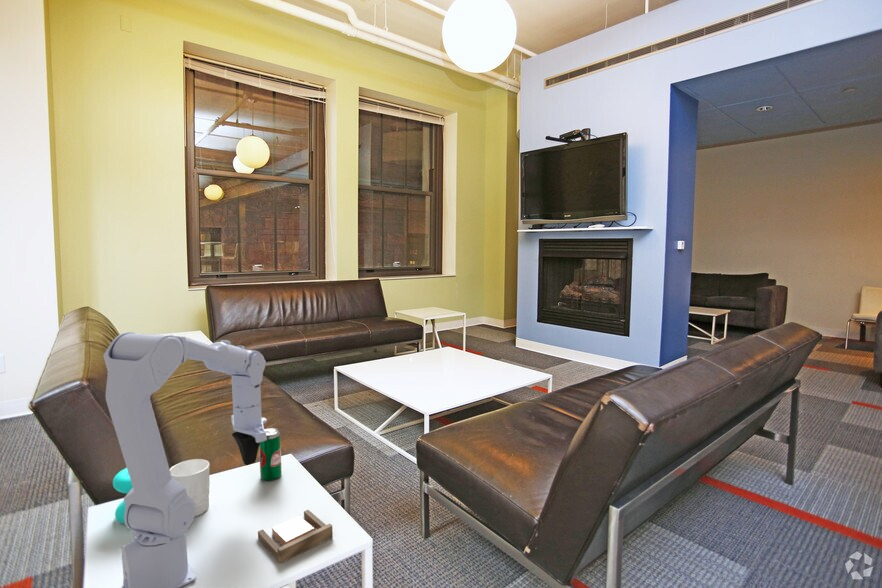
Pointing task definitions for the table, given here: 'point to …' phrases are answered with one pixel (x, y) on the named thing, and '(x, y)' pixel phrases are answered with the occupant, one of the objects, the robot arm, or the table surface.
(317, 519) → the wooden u-shaped frame
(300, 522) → the peach block
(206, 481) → the white cup
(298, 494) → the table surface
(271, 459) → the soda can
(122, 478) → the donuts
